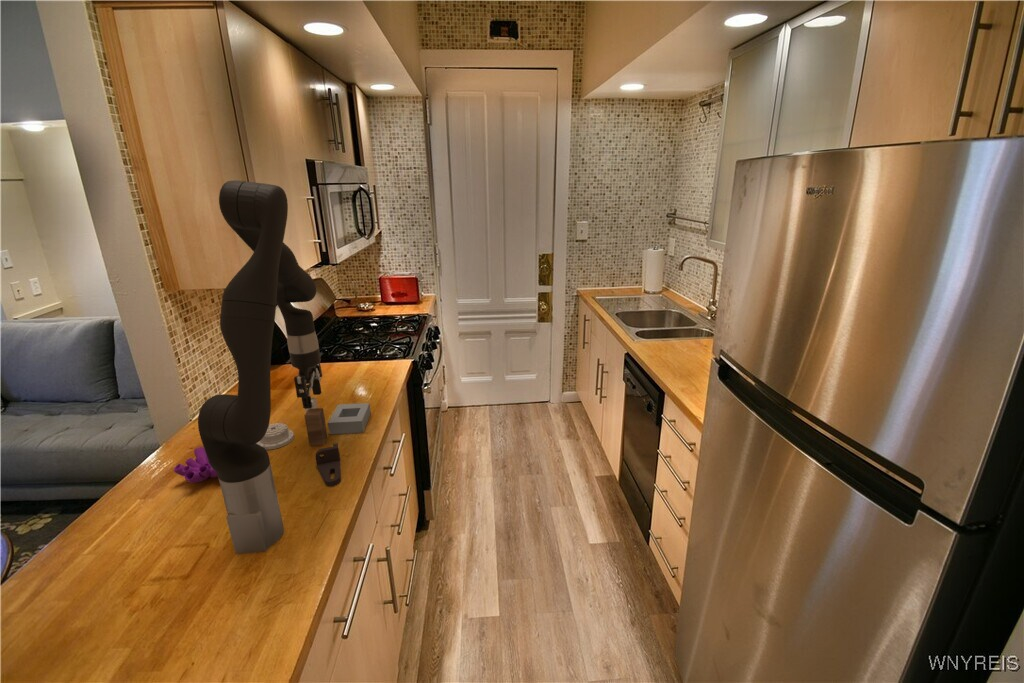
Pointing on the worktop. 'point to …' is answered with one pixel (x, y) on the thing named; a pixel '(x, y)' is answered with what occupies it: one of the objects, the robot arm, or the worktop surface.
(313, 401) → the grey metallic cylinder
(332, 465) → the bracket
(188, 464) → the purple coral piece
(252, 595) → the worktop surface
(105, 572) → the worktop surface
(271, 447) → the mechanical component
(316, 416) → the walnut peg
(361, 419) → the socket block
